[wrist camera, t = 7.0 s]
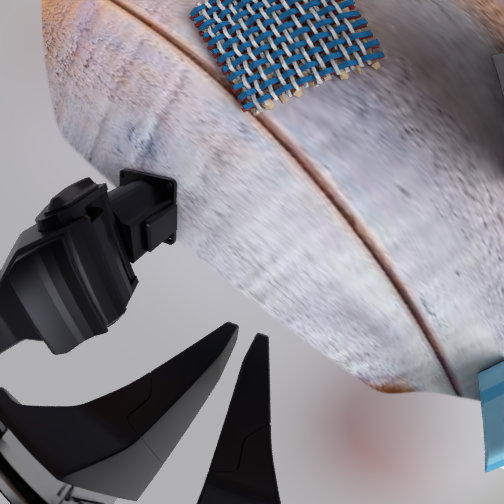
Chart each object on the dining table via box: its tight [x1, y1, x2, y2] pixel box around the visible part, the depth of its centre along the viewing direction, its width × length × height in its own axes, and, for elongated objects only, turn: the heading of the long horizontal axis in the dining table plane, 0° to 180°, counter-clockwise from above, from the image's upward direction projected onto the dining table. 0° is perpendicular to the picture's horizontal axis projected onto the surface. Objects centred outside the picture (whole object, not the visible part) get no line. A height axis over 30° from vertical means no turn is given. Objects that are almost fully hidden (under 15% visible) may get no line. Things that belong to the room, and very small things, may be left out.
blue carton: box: [478, 361, 504, 472], centre depth 17 cm, size 12×4×12 cm, turn 41°
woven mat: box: [190, 0, 384, 116], centre depth 13 cm, size 10×11×2 cm
